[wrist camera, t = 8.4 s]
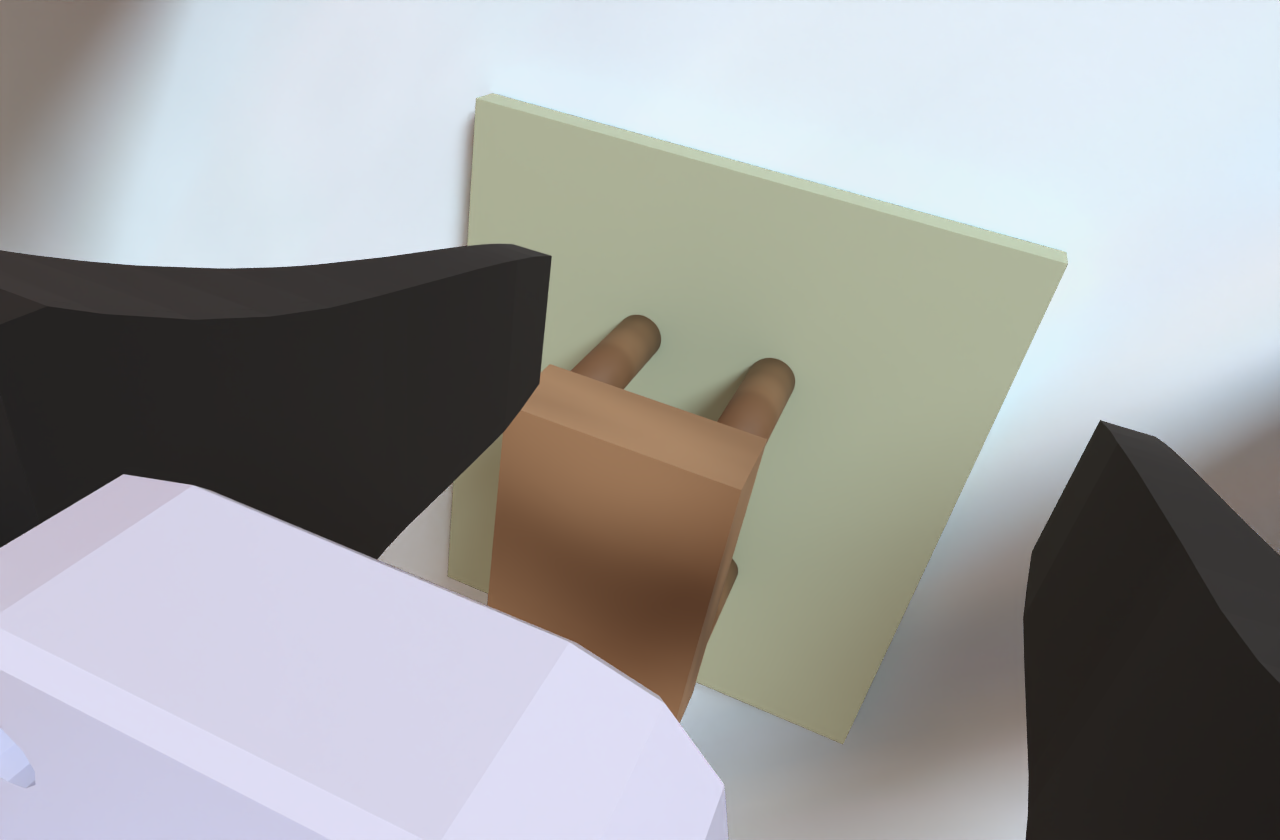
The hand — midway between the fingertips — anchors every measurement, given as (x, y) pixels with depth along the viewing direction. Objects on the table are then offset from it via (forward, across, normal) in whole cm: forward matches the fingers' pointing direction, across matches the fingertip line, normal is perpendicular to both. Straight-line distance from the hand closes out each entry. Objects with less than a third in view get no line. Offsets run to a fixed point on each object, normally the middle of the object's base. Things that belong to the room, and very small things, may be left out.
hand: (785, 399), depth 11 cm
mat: (+10, +3, +8) cm, 13 cm away
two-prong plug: (+9, +3, +8) cm, 13 cm away
